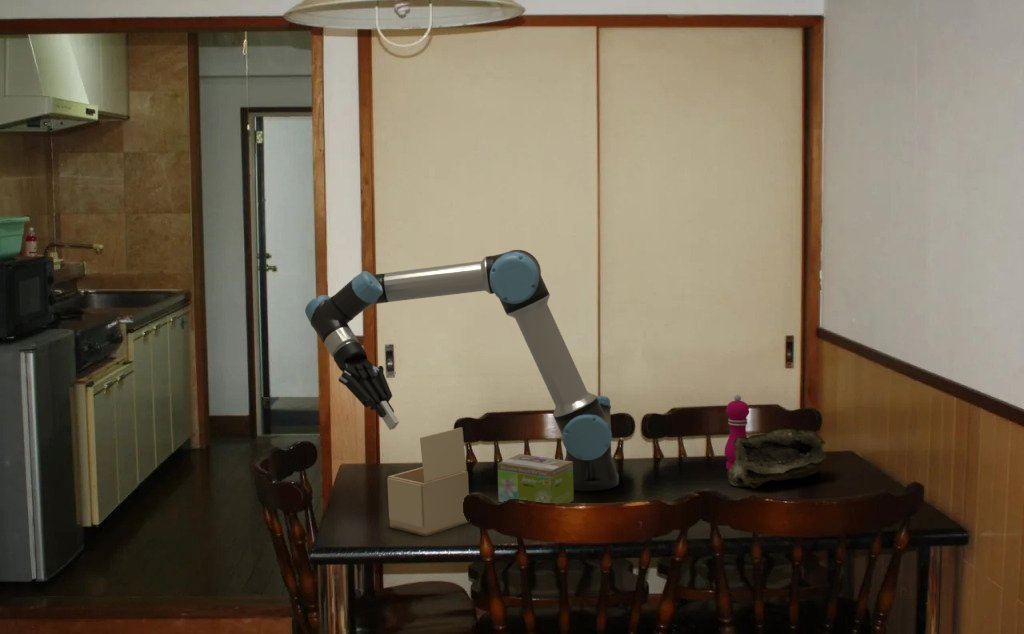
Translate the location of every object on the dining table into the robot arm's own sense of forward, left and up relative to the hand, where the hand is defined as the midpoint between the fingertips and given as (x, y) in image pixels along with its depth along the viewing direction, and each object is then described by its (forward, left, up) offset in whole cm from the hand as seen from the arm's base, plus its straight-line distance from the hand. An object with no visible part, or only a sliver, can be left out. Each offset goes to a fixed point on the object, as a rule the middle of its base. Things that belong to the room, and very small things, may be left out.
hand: (394, 425), depth 286 cm
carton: (0, +11, -22) cm, 25 cm away
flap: (0, +17, -10) cm, 20 cm away
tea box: (-16, +30, -22) cm, 41 cm away
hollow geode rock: (-80, +56, -22) cm, 100 cm away
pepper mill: (-86, +40, -22) cm, 97 cm away
